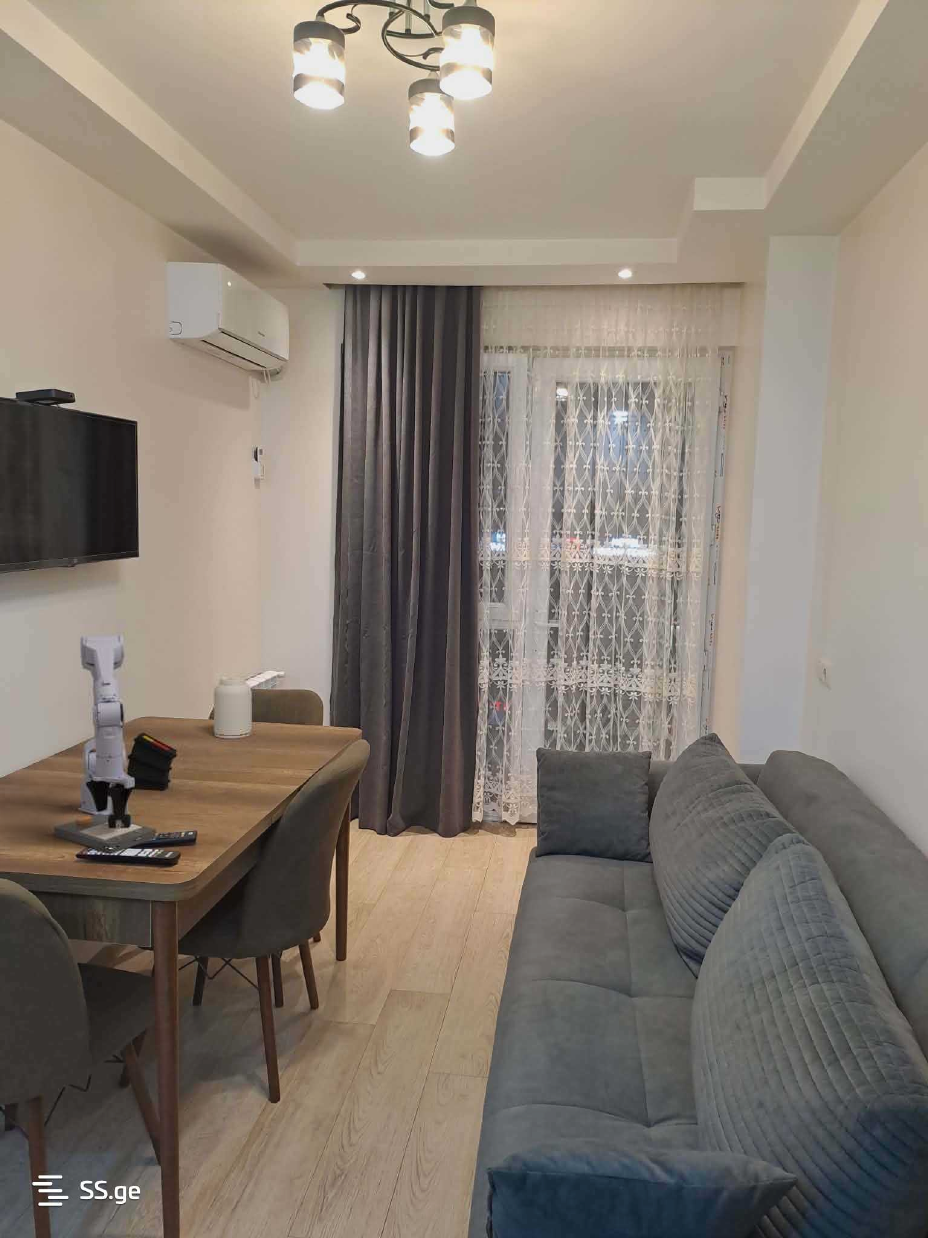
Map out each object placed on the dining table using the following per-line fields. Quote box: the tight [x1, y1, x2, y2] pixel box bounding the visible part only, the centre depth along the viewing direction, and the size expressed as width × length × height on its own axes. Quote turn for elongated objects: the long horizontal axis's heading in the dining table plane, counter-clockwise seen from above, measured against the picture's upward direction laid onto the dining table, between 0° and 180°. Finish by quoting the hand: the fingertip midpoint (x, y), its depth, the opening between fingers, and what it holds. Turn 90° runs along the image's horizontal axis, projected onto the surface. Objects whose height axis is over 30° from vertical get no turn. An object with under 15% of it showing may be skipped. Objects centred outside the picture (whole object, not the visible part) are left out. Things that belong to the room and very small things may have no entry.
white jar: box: [213, 675, 253, 740], centre depth 303 cm, size 12×12×20 cm
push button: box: [101, 783, 132, 828], centre depth 203 cm, size 7×5×10 cm
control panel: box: [53, 813, 157, 854], centre depth 203 cm, size 20×12×3 cm, turn 59°
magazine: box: [126, 732, 178, 791], centre depth 240 cm, size 4×13×15 cm, turn 84°
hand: (110, 813), depth 202 cm, fingers open, 5 cm apart
